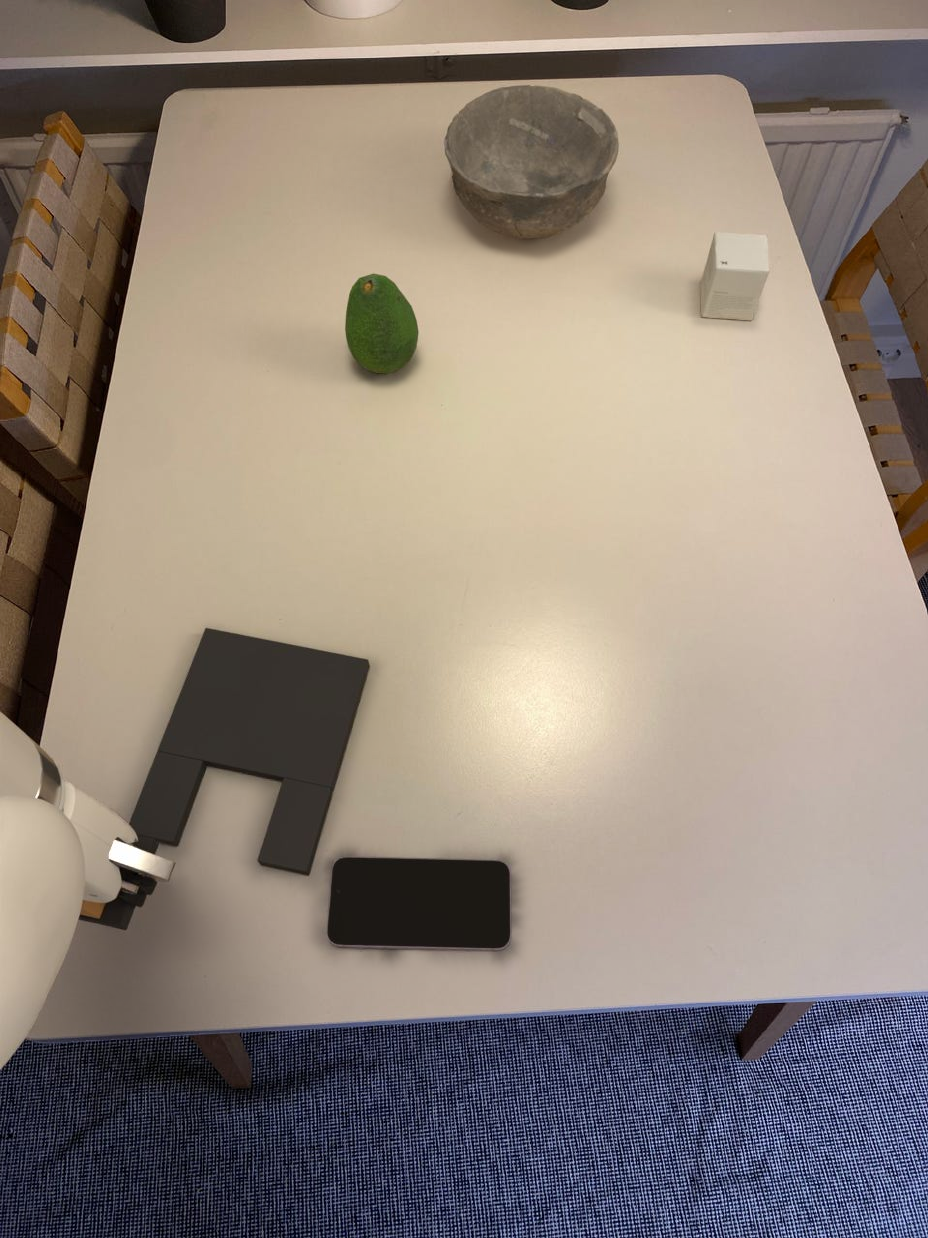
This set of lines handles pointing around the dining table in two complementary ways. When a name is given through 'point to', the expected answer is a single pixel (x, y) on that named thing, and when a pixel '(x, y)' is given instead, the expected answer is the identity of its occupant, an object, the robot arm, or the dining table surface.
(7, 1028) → the robot arm
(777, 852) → the dining table surface
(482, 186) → the bowl
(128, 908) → the pad piece
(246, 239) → the dining table surface
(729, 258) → the product box
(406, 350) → the fruit
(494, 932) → the smartphone
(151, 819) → the mat
